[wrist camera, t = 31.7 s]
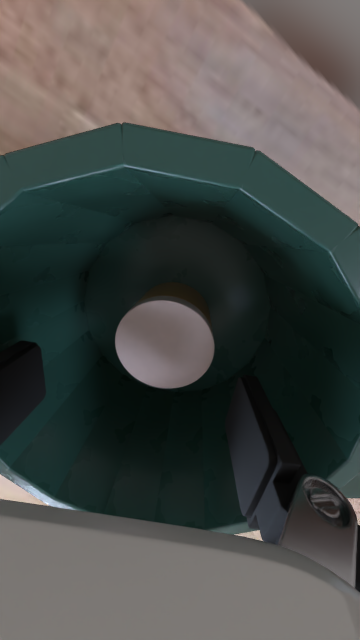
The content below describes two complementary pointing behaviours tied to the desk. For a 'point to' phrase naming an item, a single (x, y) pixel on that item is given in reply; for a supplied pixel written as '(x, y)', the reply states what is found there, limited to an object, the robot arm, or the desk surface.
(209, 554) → the robot arm
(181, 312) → the cake
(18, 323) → the pot
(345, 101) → the desk surface
